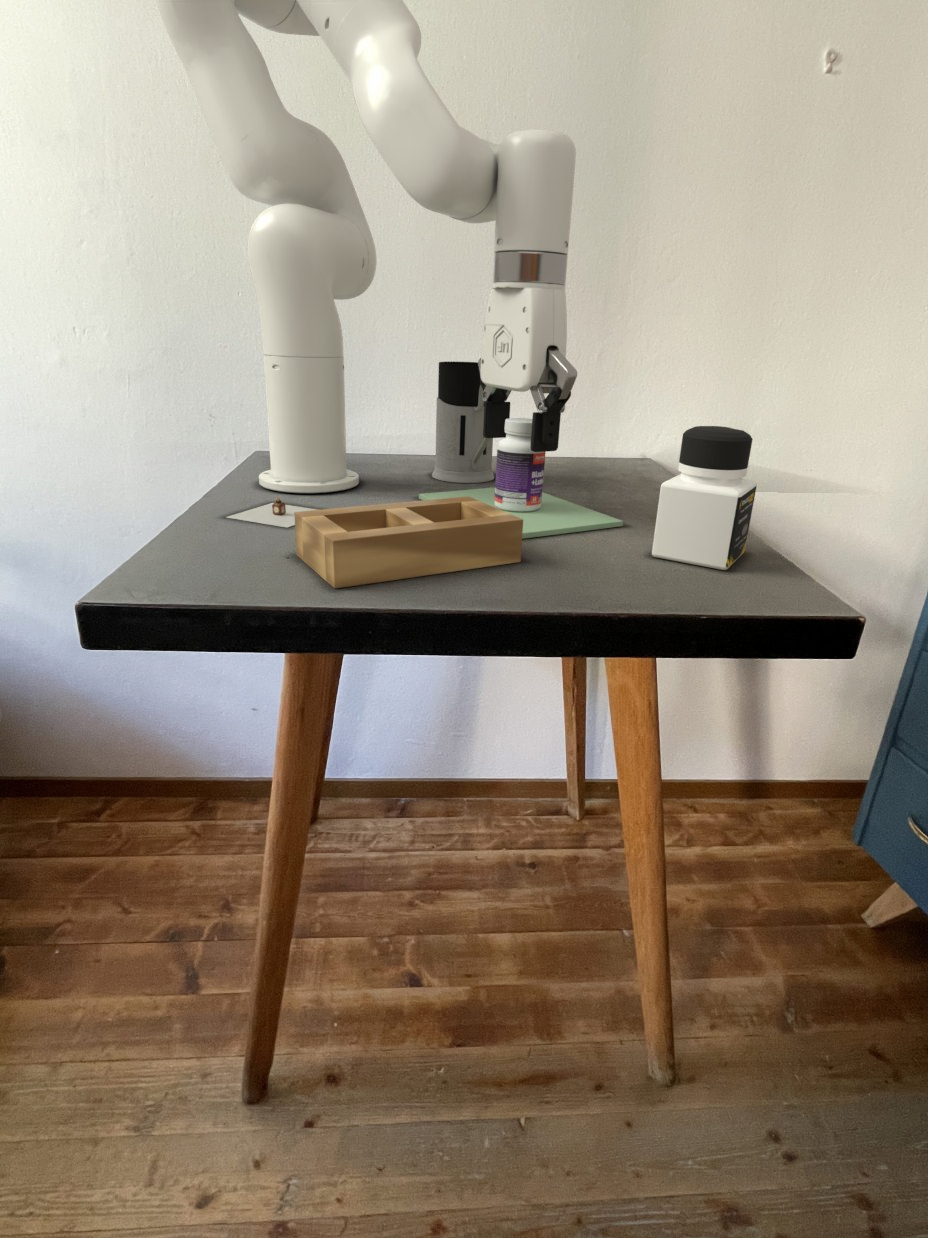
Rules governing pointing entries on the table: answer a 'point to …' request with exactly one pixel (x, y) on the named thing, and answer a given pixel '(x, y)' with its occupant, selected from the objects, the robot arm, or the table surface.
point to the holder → (405, 540)
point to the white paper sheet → (271, 514)
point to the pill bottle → (518, 469)
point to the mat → (541, 513)
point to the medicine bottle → (707, 500)
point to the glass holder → (461, 426)
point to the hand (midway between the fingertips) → (518, 443)
